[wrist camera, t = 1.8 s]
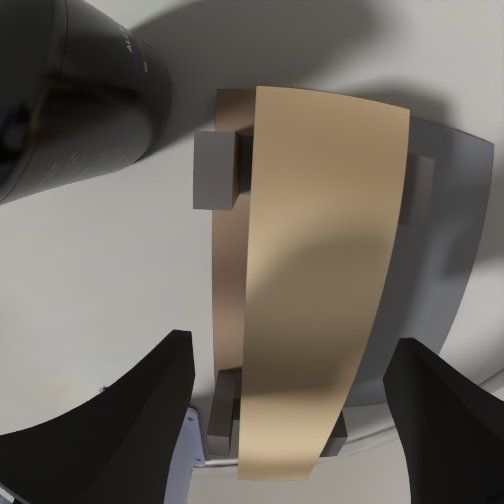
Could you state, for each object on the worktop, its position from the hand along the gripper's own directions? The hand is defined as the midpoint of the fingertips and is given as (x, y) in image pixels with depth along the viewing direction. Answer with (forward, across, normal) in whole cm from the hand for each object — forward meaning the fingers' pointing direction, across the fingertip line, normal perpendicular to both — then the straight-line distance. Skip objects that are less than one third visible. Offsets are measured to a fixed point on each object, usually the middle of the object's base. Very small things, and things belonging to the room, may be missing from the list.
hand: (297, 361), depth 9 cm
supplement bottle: (+6, +9, -9) cm, 14 cm away
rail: (+2, 0, 0) cm, 2 cm away
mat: (+5, -7, 0) cm, 9 cm away
